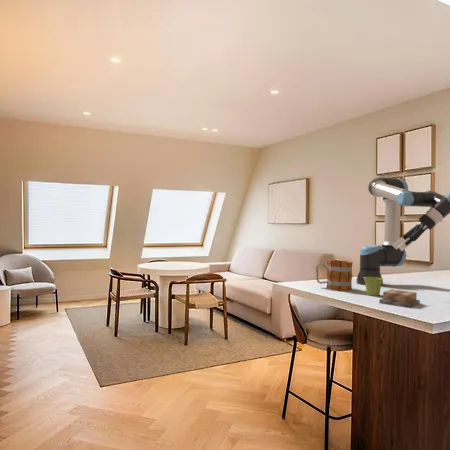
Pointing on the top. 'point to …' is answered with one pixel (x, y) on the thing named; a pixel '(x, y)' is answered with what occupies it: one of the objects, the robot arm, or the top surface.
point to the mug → (337, 275)
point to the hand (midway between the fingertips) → (396, 248)
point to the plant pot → (373, 285)
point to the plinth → (399, 298)
